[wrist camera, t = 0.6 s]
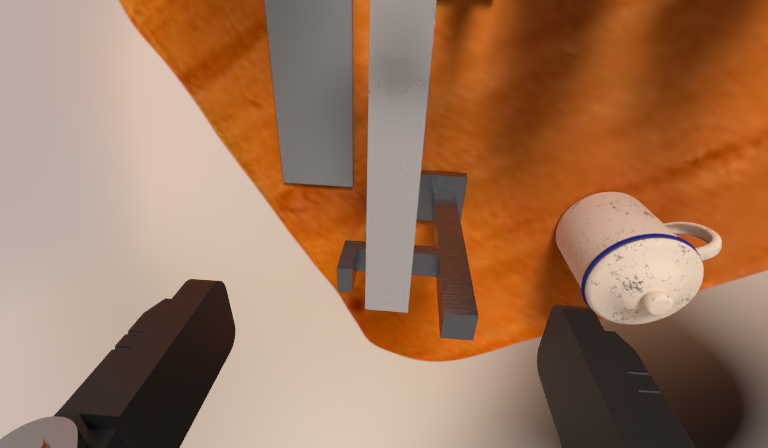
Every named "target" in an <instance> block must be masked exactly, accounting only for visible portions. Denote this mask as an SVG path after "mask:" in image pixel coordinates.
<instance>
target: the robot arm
mask: <svg viewBox="0 0 768 448" xmlns="http://www.w3.org/2000/svg"><path fill="white" fill-rule="evenodd" d="M234 339H235V324H234V320H233V316H232V311H231V307H230V303H229V299H228V295H227V290H226V287H225V284H224V283H223V282H222V281H211V280H196V279H190V280H188V281H186V282H185V284H184V285H183V286H182V287H181V288H180V290H179V291H178V292H177V293H176V294H175V296H174V297H173V298H172V299H164V300H162V301H161V302H159V303H158V304H157V305H155V306H154V307H152V308H151V309H149V310H148V311H146V312H145V313H143V315H142V316H141V317H140V318H139V319H138V320H137V321H136V323H135V324H134V325H133V326H132V327H131V329H130V330H129V331H128V334H127V335H125V336H123V338H122V339H121V340H120V341H119V342H118V343H117V344H116V346H115V349H114V350H111V351H110V352H109V354H108V355H107V356H106V357H105V358H104V360H103V361H102V362H101V363H100V364H99V365H98V366H97V367H96V369H95V370H94V371H93V372H92V373H91V374H90V375H89V377H88V378H87V379H86V380H85V381H84V382H83V384H82V385H81V386H80V387H79V388H78V389H77V390H76V392H75V393H74V394H73V395H72V396H71V397H70V398H69V400H68V401H67V402H66V403H65V404H64V405H63V406H62V408H61V409H60V410H59V411H58V412H57V413H56V414H55V415H54V416H53V417H46V418H42V419H38V420H35V421H32V422H30V423H27V424H25V425H23V426H21V427H19V428H17V429H15V430H14V431H12V432H11V433H9V434H7V435H6V436H4V437H3V438H2V439H0V448H179V447H180V445H181V444H182V442H183V440H184V438H185V436H186V434H187V432H188V431H189V429H190V426H191V425H192V423H193V421H194V419H195V417H196V415H197V414H198V412H199V410H200V408H201V406H202V404H203V402H204V400H205V398H206V397H207V395H208V393H209V391H210V389H211V387H212V385H213V383H214V381H215V380H216V378H217V376H218V374H219V372H220V370H221V368H222V366H223V364H224V363H225V361H226V359H227V357H228V355H229V353H230V351H231V349H232V346H233V343H234ZM537 367H538V373H539V377H540V380H541V383H542V386H543V389H544V393H545V396H546V399H547V402H548V405H549V408H550V411H551V414H552V417H553V420H554V423H555V426H556V430H557V433H558V436H559V439H560V442H561V445H562V448H695V446H694V445H693V443H692V441H691V440H690V438H689V437H688V435H687V433H686V432H685V430H684V428H683V427H682V425H681V424H680V422H679V421H678V419H677V417H676V416H675V414H674V412H673V411H672V409H671V407H670V406H669V404H668V403H667V401H666V399H665V398H664V396H663V395H660V393H659V391H660V390H659V388H658V386H657V385H656V383H655V382H654V380H653V378H652V377H651V376H649V375H648V370H647V369H646V367H645V365H644V364H643V362H642V361H641V359H640V357H639V356H638V354H637V353H636V351H635V350H634V349H633V348H632V347H631V346H630V345H629V344H627V343H626V342H625V341H624V340H623V339H622V338H621V337H620V336H619V335H618V334H616V333H615V332H611V331H605V330H604V329H603V327H602V325H601V323H600V321H599V320H598V318H597V316H596V314H595V313H594V311H593V310H592V309H591V308H589V307H578V306H563V305H555V306H554V307H553V308H552V309H551V312H550V315H549V318H548V321H547V324H546V327H545V330H544V333H543V336H542V340H541V342H540V346H539V349H538V354H537Z"/></svg>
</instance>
